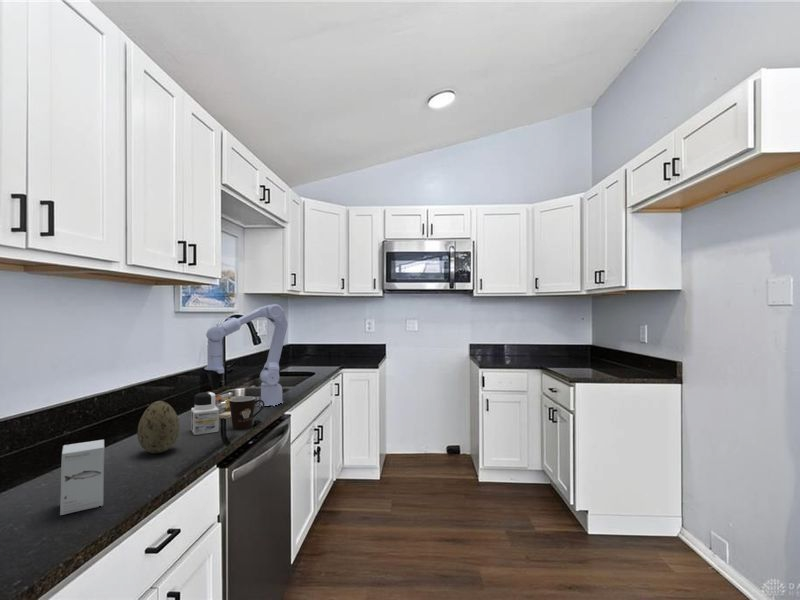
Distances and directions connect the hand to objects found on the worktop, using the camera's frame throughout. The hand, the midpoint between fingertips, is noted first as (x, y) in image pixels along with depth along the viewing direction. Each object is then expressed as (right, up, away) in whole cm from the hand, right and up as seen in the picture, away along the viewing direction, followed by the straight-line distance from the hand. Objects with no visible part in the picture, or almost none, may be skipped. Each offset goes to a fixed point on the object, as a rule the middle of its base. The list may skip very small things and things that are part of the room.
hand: (215, 389), depth 172 cm
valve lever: (+5, -2, -6) cm, 8 cm away
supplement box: (+8, -8, -82) cm, 83 cm away
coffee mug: (+21, -9, -22) cm, 32 cm away
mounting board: (+5, -9, -2) cm, 11 cm away
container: (+8, -9, -27) cm, 30 cm away
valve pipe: (+6, -8, -2) cm, 10 cm away
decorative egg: (+5, -8, -49) cm, 50 cm away
